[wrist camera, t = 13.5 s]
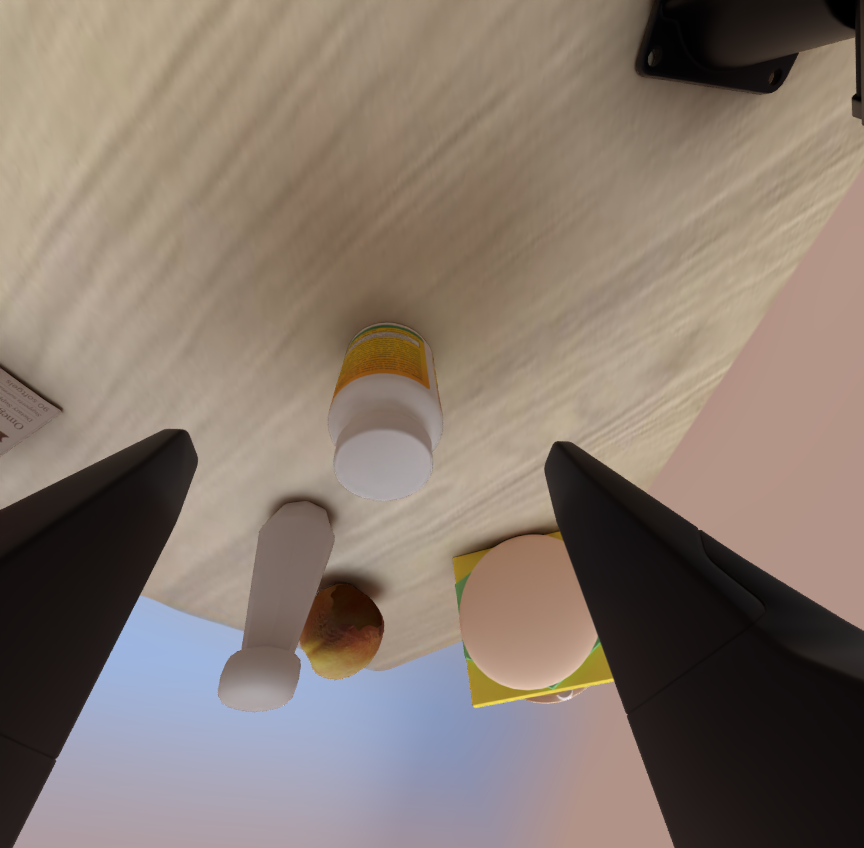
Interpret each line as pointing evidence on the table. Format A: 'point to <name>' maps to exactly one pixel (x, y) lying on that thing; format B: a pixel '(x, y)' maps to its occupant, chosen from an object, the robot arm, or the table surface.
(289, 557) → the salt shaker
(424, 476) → the supplement bottle
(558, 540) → the hamburger
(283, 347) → the table surface
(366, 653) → the fruit
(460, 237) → the table surface
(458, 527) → the table surface
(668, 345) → the table surface
